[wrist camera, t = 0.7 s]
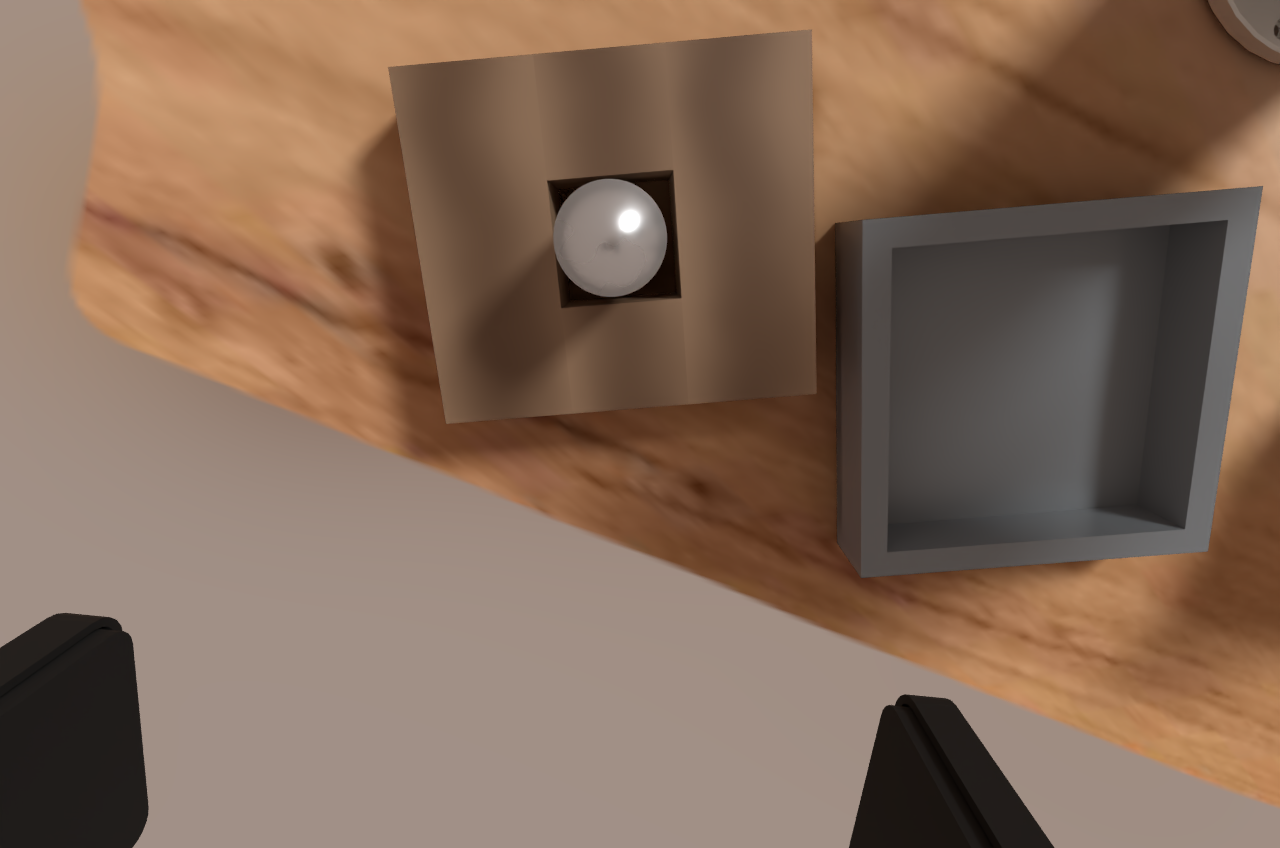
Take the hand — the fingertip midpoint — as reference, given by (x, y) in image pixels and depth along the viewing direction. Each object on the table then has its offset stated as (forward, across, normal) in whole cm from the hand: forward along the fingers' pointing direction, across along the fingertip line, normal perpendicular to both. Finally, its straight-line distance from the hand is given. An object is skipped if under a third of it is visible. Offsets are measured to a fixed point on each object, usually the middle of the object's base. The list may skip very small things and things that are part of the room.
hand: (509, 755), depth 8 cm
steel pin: (+25, 0, -6) cm, 26 cm away
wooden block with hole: (+25, 0, -6) cm, 26 cm away
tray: (+25, -19, -2) cm, 32 cm away
